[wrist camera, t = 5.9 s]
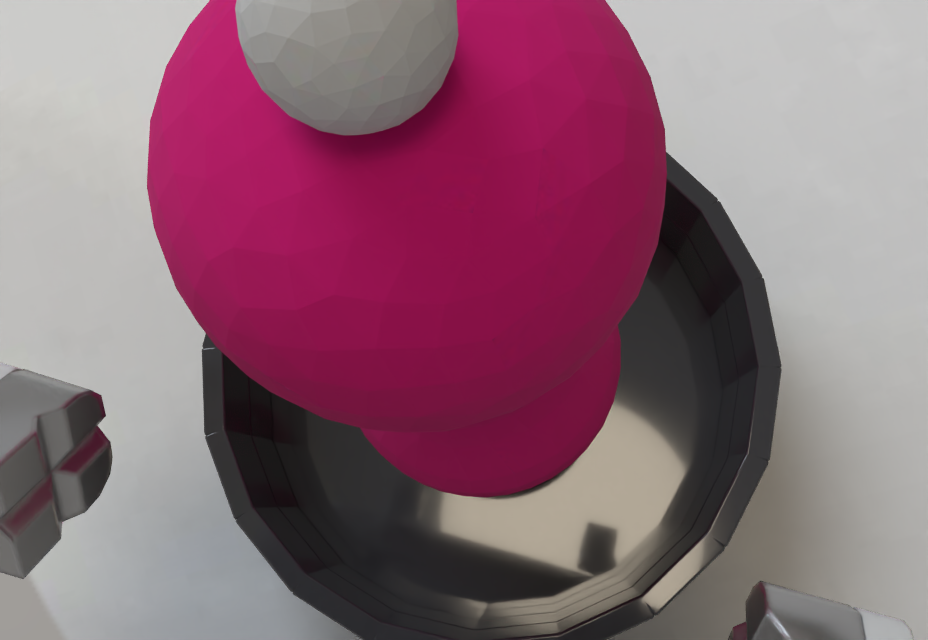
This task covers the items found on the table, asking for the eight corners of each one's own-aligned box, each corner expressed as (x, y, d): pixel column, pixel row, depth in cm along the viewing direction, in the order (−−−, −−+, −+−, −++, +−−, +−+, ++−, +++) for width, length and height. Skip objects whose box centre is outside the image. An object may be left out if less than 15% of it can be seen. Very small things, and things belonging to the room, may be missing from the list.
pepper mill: (650, 429, 24) (1096, 128, 5) (439, 540, 24) (23, 690, 5) (537, 230, 26) (532, -577, 7) (338, 333, 26) (-267, -184, 6)
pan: (697, 690, 23) (734, 734, 19) (204, 572, 25) (133, 587, 21) (766, 199, 26) (812, 137, 22) (321, 129, 28) (281, 60, 24)
